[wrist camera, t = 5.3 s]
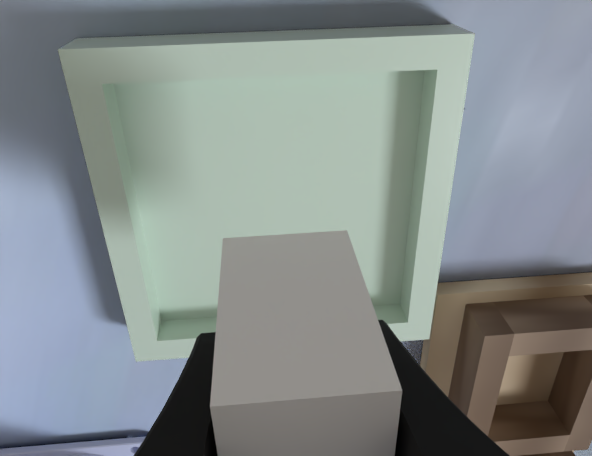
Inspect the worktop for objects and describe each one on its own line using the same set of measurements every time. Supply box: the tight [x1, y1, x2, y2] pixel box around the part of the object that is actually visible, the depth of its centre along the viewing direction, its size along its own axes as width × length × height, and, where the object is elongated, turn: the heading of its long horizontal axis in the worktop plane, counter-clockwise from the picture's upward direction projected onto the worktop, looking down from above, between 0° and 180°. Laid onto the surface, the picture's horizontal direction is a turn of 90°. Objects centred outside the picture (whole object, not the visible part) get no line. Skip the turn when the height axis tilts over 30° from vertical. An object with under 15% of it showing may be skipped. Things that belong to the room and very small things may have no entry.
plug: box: [210, 230, 402, 456], centre depth 11 cm, size 3×4×5 cm
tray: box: [58, 24, 475, 362], centre depth 18 cm, size 12×12×2 cm
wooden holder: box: [420, 272, 592, 456], centre depth 25 cm, size 9×18×3 cm, turn 1°
